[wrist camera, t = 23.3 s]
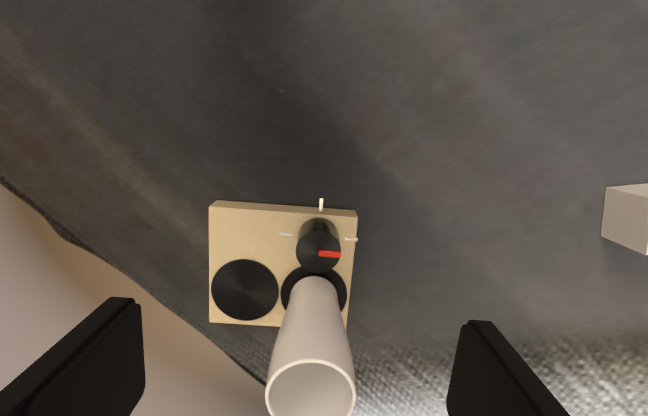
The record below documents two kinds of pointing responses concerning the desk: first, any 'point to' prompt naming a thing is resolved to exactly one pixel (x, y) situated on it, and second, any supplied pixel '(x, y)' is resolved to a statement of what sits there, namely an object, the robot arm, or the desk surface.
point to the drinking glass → (311, 356)
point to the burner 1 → (244, 289)
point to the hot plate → (271, 245)
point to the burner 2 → (302, 273)
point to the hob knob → (318, 245)
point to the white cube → (627, 216)
